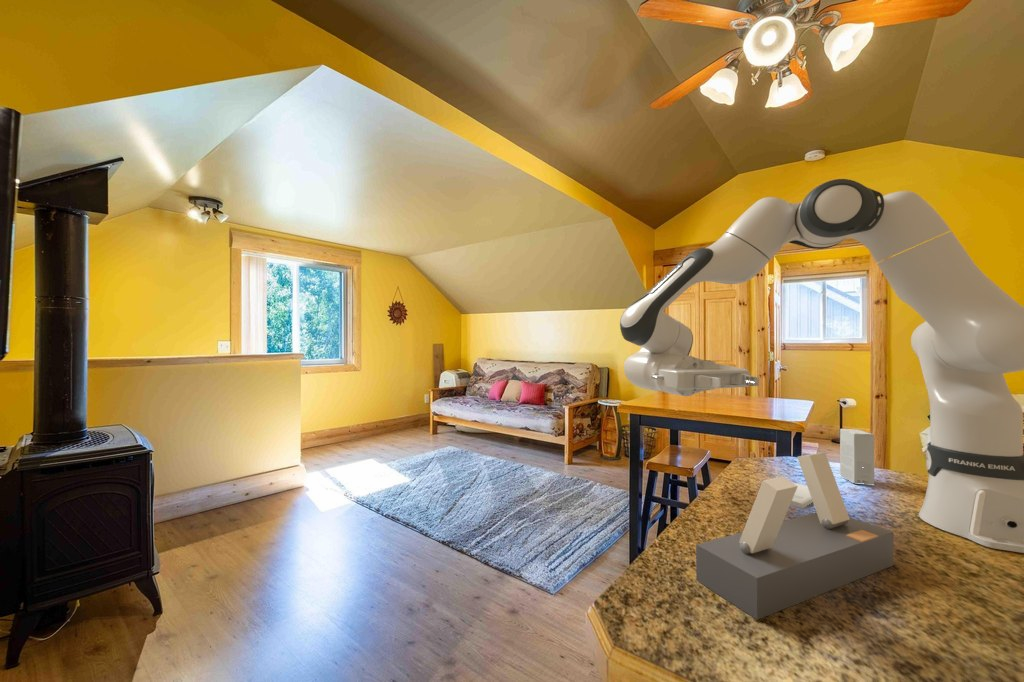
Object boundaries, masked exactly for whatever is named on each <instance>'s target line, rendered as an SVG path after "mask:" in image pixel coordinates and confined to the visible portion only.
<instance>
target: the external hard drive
mask: <svg viewBox="0 0 1024 682" xmlns="http://www.w3.org/2000/svg"><path fill="white" fill-rule="evenodd" d="M791 482H792V481H791ZM792 483H794V484H795V485H797V486H798V487H797V489H796V492H795V494H794V497H793V499H792V501H791V504H790V506H793V507H796V508H800V509H804V508H806V507H808V506H809V504H810V505H812V504H813V503H812V502H813V500H812V498H811V495H810V492H809V489H808V486H807V484H805V485H804V484H801V483H797V482H792ZM811 503H812V504H811ZM807 505H808V506H807Z"/></svg>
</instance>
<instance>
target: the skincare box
mask: <svg viewBox="0 0 1024 682" xmlns="http://www.w3.org/2000/svg"><path fill="white" fill-rule="evenodd" d="M839 444H840V445H839V457H840V458H839V459H840V460H839V467H840V468H839V474H840V475H841V476H842V477H844V478H846V479H848V480H850V481H852V482H854V483H864V484H874V485H875V435H874V434H873V433H870V432H867V431H864V430H860V429H857V428H856V429H851V428H850V429H849V428H840V429H839ZM862 467H864V468H862ZM840 475H839V476H840ZM842 477H841V478H842Z"/></svg>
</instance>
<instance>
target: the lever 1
mask: <svg viewBox="0 0 1024 682" xmlns="http://www.w3.org/2000/svg"><path fill="white" fill-rule="evenodd" d="M794 483H795V482H793V483H792V481H791V480H790V479H788V478H787V477H785V476H778V477H773V478H769V479H768V478H767V479H763V480H762V482H761V485H760V487H759V490H758V492H757V494H756V498H755V499H754V502H753V505H752V507H751V510H750V512H749V516H748V518H747V521H746V523H745V525H744V528H743V531H742V532H743V533H742V536H741V538H740V541H739V542H740V549H741V551H742V552H743V553H745V554H748V553H755V552H759V551H762V550H765V549H769V548H772V546H773V544H774V542H775V539H776V537H777V535H778V532H779V530H780V527H781V525H782V523H783V521H785V519H786V518H785V517H787V516H786V515H787V513H788V511H789V508H790V506H791V505H790V504H791V501H792V499H793V497H794V494H795V492H796V489H797V487H798V486H797V485H795V484H794Z"/></svg>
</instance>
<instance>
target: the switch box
mask: <svg viewBox="0 0 1024 682" xmlns="http://www.w3.org/2000/svg"><path fill="white" fill-rule="evenodd" d="M849 518H850V520H849V522H848V523H847V524H844V525H841V526H838V527H834V528H831V529H826V528H824V527H823V525H822V524H821V523H820V521H819V518H818V515H817V512H811V513H809V514H804V515H802V516H801V515H800V516H798V517H794V518H790V519H786V520H783V523H782V525H781V527H780V530H779V532H778V535H777V537H776V539H775V542H774V544H773V546H772V548H769V549H765V550H762V551H759V552H755V553H748V554H745V553H743V552H742V551H741V549H740V542H739V541H740V538H741V536H742V533H743V531H742V532H738V533H734V534H731V535H727V536H723V537H719V538H716V539H711V540H708V541H704V542H700V543H697V544H696V545H695V547H696V548H695V555H696V556H695V561H696V562H695V564H696V565H695V567H696V568H695V569H696V570H695V571H696V574H695V576H696V578H695V579H696V580H695V581H696V582H698V583H700V584H701V585H703V586H704V587H706V588H707V589H709V590H711V591H712V592H713V593H715V594H716V595H718V596H720V597H721V598H723V599H724V600H726V601H728V602H729V603H730V604H732V605H733V606H736V608H738V609H739V610H740V611H741V610H742V612H745V613H746V614H747V615H749V616H751V617H752V618H754V619H755V620H761V619H762V618H766V617H768V616H771V615H773V614H776V613H778V612H779V611H783V610H786V609H787V608H790V607H792V606H796V605H798V604H800V603H803V602H805V601H808V600H811V599H813V598H815V597H818V596H820V595H824V594H825V593H828V592H830V591H833V590H835V589H838V588H840V587H843V586H845V585H848V584H850V583H853V582H855V581H858V580H861V579H863V578H866V577H867V576H870V575H873V574H875V573H878V572H880V571H884V570H885V569H888V568H891V567H893V566H894V531H892V530H890V529H886V528H883V527H881V526H877V525H874V524H872V523H869V522H865V521H862V520H859V519H856V518H853V517H850V516H849Z"/></svg>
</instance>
